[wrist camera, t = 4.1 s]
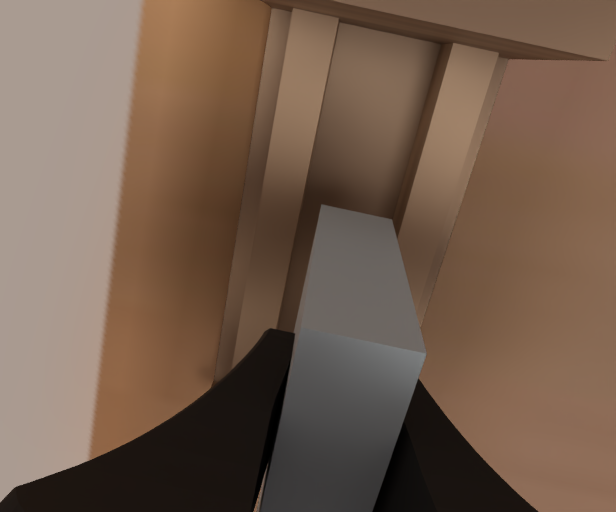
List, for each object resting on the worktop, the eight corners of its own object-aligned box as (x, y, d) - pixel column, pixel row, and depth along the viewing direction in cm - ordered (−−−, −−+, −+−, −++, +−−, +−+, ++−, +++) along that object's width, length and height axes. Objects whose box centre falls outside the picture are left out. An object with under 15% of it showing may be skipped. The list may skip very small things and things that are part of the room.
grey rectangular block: (332, 434, 15) (323, 652, 10) (274, 421, 15) (232, 633, 10) (392, 219, 13) (426, 353, 7) (321, 204, 13) (300, 327, 7)
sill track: (384, 420, 21) (401, 581, 14) (215, 385, 21) (158, 530, 14) (524, -14, 15) (659, -68, 8) (287, -66, 15) (242, -159, 8)
